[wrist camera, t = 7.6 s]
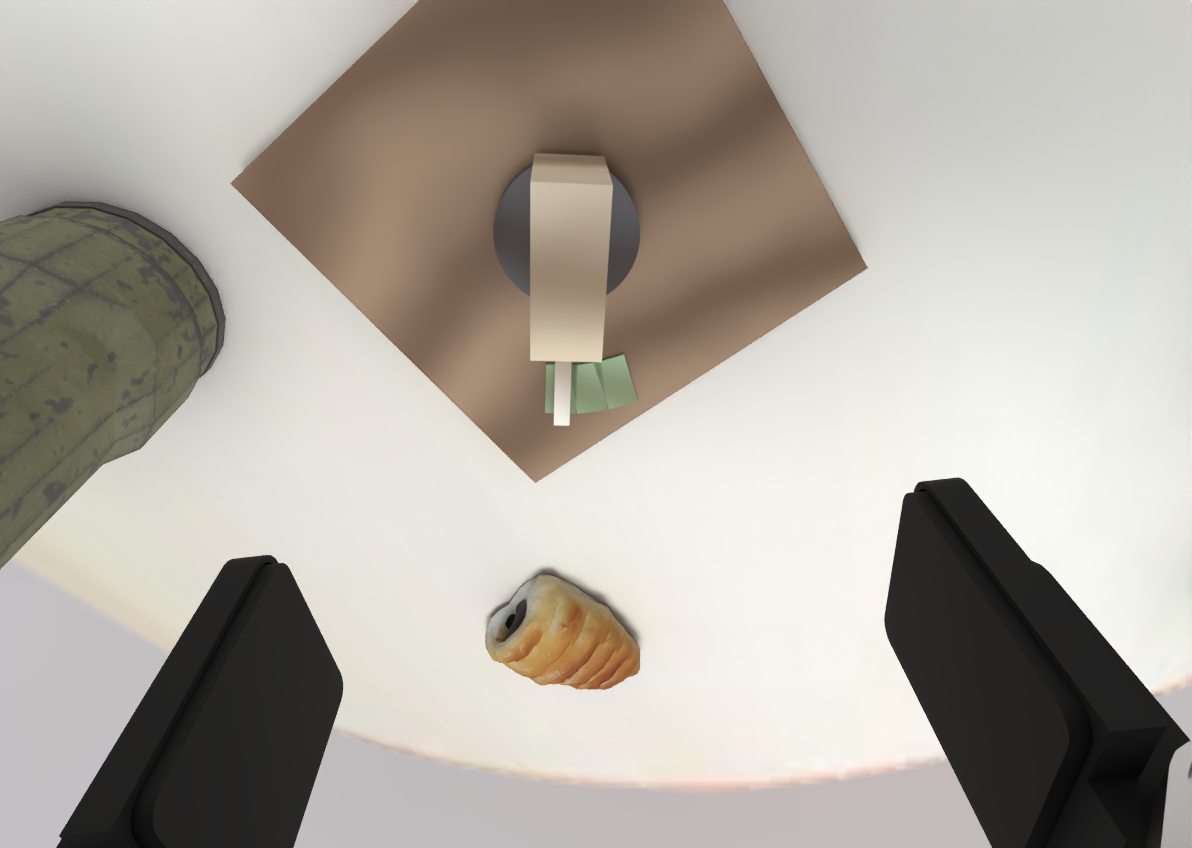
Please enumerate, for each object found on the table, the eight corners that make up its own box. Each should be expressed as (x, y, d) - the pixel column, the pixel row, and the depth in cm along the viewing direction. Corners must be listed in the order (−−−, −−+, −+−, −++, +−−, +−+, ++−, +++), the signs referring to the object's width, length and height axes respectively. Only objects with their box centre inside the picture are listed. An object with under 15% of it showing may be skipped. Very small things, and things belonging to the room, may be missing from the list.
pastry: (663, 624, 42) (671, 677, 39) (596, 681, 45) (598, 735, 41) (540, 559, 39) (538, 610, 35) (475, 625, 41) (467, 678, 38)
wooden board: (854, 256, 30) (869, 269, 28) (535, 465, 35) (535, 485, 33) (614, -181, 22) (619, -194, 20) (245, 174, 27) (228, 184, 25)
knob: (493, 146, 25) (478, 179, 20) (643, 152, 25) (663, 187, 21) (500, 413, 31) (490, 486, 26) (621, 415, 31) (633, 488, 27)
